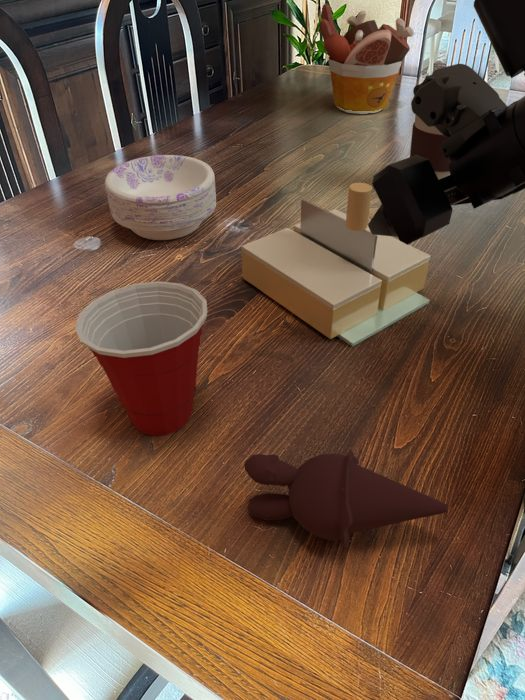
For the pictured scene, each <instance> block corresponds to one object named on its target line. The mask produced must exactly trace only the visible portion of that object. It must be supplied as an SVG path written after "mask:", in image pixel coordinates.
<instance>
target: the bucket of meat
mask: <svg viewBox="0 0 525 700" xmlns="http://www.w3.org/2000/svg"><path fill="white" fill-rule="evenodd" d="M366 16H367V12H366V10H361V11H359V12H358V13H357V15H356V16H354V15H351V16H349V17H348V18H347V20H346V24H348V25H352V26H353V27H351V28H350V29H349V30H347V31H345V34H344V35H342V34H339V33H338V30H337V28H336V25H335V23H334V17H333V12H332V8H331V6H330V5H329V3H324V4H323V5H322V7H321V11H320V18H321V20H320V21H319V23H318V27H319V31H320V34H321V37H322V40H323V48H324V50H325V51H326V54H327V55H328V65H329V71H330V72H329V73H330V81H331V87H332V95H333V103H334V106H335V107H336V106H338V107H340V108H342V109H344V110H352V111H375V110H379V109H382V108H384V107H386V108H387V107H388V104H389V101H390V98H391V96H392V92H393V89H394V86H395V83H396V80H397V77H398V75H399V71H400V68H401V67H402V63H403V60H404V59H405V57H406V56H407V54H408V53H409V51H410V49H411V47H410V46H409V44H408V41H407V40H406V39H405V38H411V37H413V36H414V34H415V32H414V29H413V28H412V27H411V26H406V22H405V20H404V19H403V18H400V17H397V19H396V20H395V28H394V27H392V26H391V25H390V24H385V23H382V24H381V25H380V27H378V24H377V22H376V20H375V19H372V20H367V21H366V20H365V18H366Z"/></svg>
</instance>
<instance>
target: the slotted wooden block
mask: <svg viewBox="0 0 525 700" xmlns="http://www.w3.org/2000/svg"><path fill="white" fill-rule="evenodd" d="M329 212H331V213H333V214H335V215H337V216H339V217H341V218H343V219H345V220H346V215H347V213H344V212H343V211H341V210H339V209H336V208H333V209H331V210H329ZM300 225H301V222H299V223H296V224H294V225H293V229H291V228H289V227H285V228H282V229H280V230H277V231H275V232H273V233H271V234H268V235H265V236H262V237H260V238H258V239H255V240H253V241H250V242H248V243H245V244H243V245H241V246H240V247H241V248H240V249H241V274H242V275H241V276H242V279H243V280H244V281H246V282H247V283H249V284H251V286H253V287H255V288H256V289H258V290H259V291H261V292H262V293H263V294H265V295H266V296H268V297H269V298H271V299H272V300H274V301H275V302H276V303H277V304H279V305H280V306H281V307H283V308H285V309H286V310H288V311H289V312H291V313H292V314H294V315H295V316H296V317H298V318H299V319H301V320H302V321H303V322H305V323H306V324H307V325H309V326H310V327H312V328H313V329H315V330H316V331H318V332H319V333H320V334H322V335H323V336H325V337H326V338H328V339H329V340H332V339H334V338H336V337H337V338H339V339H340V340H342V342H345V343H346V344H347V345H349V346H350V347H352V348H353V347H355V346H356V345H358V344H360V343H362V342H363V341H365V340H367V339H369V338H371V337H372V336H374V335H376V334H377V333H380V332H381V331H382V330H385V329H386V328H388V327H390V326H392V325H394V324H395V323H397V322H399V321H400V320H402V319H404V318H405V317H408V316H410V315H411V314H414V313H415V312H417V311H418V310H420V309H422V308H424V307H425V306H427V305H429V304H430V301H431V300H430V299H429V298H427V297H426V296H424V295H421V294H420V293H418V292H420V291H422V290H423V289H425V286H426V281H427V277H428V271H429V267H430V262H431V256H432V255H431V254H429V253H426V252H424V251H423V250H420V249H418V248H416V247H415V246H412V245H410V244H408V245H407V244H405V243H403V242H401V241H399V238H397V237H393V236H382V235H377V243H376V250H375V258H374V265H373V272H372V275H371V274H370V273H368V272H366V271H364V270H362V269H361V268H359V267H357V266H355V265H354V264H352V263H350V262H348V261H346V260H345V259H343V258H341V257H339V256H337V255H336V254H334V253H332V252H330V251H329V250H327V249H325V248H323V247H321V246H320V245H318V244H316V243H314V242H312V241H311V240H309V239H307V238H305V237H304V236H302V235H300ZM365 230H367V231H369V232H371V231H370V229H369V227H368V226H367V228H366V229H365Z"/></svg>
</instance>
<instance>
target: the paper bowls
mask: <svg viewBox="0 0 525 700" xmlns="http://www.w3.org/2000/svg"><path fill="white" fill-rule="evenodd" d="M104 188H105V191H106V197H107V203H108V206H109V210H110V215H111V217H112V219H113V220H114V221H115V222H116V223H117V224H118V225H120V226H122V227H123V228H127V229H129V230H131V232H133V233H134V234H136V235H137V236H139V237H141V238H144V239H147V240H153V241H171V240H175V239H180V238H183V237H186V236H188V235H190V234H192V233H193V232H194V231H196V230H197V229H198V228H199V227H200V225H201V224H202V222H203V221H204V220H206V219H207V218H208V217H210V216H211V215H212V214H213V213H214V212H215V210H216V207H217V191H216V190H217V189H216V178H215V172H214V170H213V168H212V166H210V165H209V164H208V163H207V162H204V161H203V160H200V159H198V158H195V157H191V156H187V155H180V154H179V155H178V154H157V155H148V156H143V157H138V158H134V159H131V160H128V161H125V162H123V163H121V164H118V165H117V166H115V167H113V168H112V169H111V170H110V171H109V172H108V173H107V175H106V176H105V179H104Z"/></svg>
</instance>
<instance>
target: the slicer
mask: <svg viewBox="0 0 525 700" xmlns="http://www.w3.org/2000/svg"><path fill="white" fill-rule="evenodd" d="M372 192H373V186H372V185H371V184H370V183H369V184H368V183H365V182H353V183H351V184H350V185H349V186H348V193H347V194H348V196H347V206H346V214H347V215H346V220H345V219H343V218H341V217H339V216H337V215H335V214H333V213H331V212H329V211H330V210H329V211H328V210H327V209H325V208H323V207H321V206H319V205H317V204H315V203H312V202H311V201H309V200H307V199H304V198H301V200H300V201H301V202H300V223H301V225H300V235H302V236H304V237H305V238H307V239H309V240H311V241H312V242H314V243H316V244H318V245H320V246H321V247H323V248H325V249H327V250H329V251H330V252H332V253H334V254H336V255H337V256H339V257H341V258H343V259H345V260H346V261H348V262H350V263H352V264H354V265H355V266H357V267H359V268H361V269H362V270H364V271H366V272H368V273H370V274H371V275H372V272H373V265H374V258H375V250H376V243H377V235H373V234H372V233H371V232H369V231H367V230H365V229H366V228H367V226H368V224H369V217H370V209H371V201H372Z"/></svg>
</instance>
